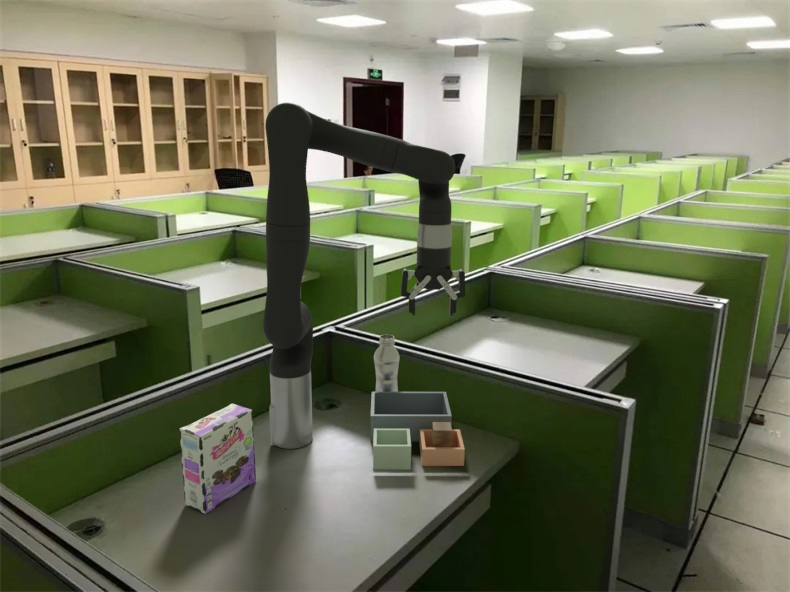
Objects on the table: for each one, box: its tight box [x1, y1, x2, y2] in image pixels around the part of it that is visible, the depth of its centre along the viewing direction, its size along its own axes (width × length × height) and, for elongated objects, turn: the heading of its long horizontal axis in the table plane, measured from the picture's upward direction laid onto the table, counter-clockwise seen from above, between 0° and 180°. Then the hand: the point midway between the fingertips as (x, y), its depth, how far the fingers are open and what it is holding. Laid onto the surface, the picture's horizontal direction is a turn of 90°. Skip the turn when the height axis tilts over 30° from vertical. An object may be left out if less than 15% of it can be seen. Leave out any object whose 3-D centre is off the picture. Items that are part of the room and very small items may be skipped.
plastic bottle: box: [373, 334, 401, 392], centre depth 159 cm, size 6×7×20 cm
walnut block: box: [432, 422, 453, 448], centre depth 138 cm, size 4×4×7 cm
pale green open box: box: [372, 429, 412, 470], centre depth 136 cm, size 8×8×6 cm
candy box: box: [178, 403, 257, 515], centre depth 122 cm, size 14×6×16 cm, turn 148°
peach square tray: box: [419, 428, 466, 467], centre depth 138 cm, size 9×9×4 cm
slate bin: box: [370, 391, 453, 443], centre depth 150 cm, size 19×14×7 cm
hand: (432, 314), depth 141 cm, fingers open, 8 cm apart
